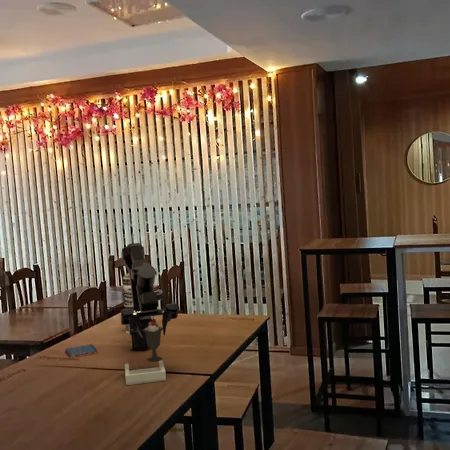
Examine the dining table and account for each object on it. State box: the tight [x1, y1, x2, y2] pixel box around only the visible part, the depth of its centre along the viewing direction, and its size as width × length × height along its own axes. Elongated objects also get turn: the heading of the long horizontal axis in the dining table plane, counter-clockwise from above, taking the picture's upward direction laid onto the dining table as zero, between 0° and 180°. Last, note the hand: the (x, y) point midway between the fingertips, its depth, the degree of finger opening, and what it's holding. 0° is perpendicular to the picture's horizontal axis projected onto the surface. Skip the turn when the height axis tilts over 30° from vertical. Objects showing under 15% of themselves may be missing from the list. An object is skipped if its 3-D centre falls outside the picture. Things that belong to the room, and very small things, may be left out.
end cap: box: [124, 359, 167, 386], centre depth 184 cm, size 12×12×3 cm
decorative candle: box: [121, 272, 133, 335], centre depth 243 cm, size 9×9×25 cm
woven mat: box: [64, 343, 98, 359], centre depth 216 cm, size 10×11×2 cm
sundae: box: [142, 316, 163, 363], centre depth 184 cm, size 7×7×15 cm
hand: (153, 336), depth 183 cm, fingers closed on sundae, 7 cm apart
